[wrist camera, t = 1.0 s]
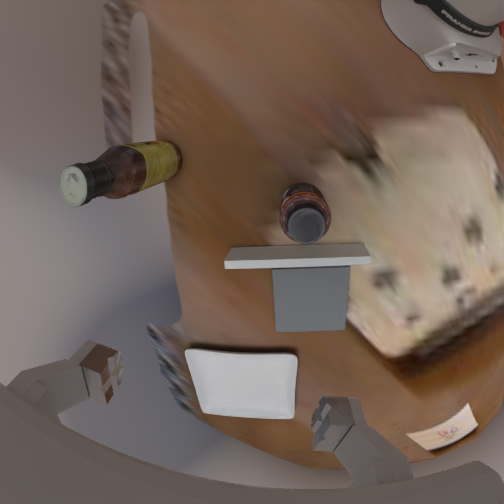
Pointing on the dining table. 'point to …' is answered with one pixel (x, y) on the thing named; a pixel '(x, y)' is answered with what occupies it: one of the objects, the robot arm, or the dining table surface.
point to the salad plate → (244, 383)
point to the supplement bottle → (304, 213)
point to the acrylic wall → (297, 256)
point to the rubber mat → (310, 298)
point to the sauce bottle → (120, 172)
